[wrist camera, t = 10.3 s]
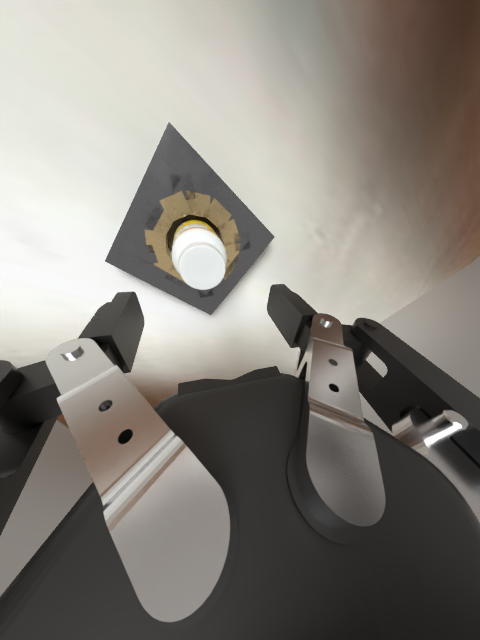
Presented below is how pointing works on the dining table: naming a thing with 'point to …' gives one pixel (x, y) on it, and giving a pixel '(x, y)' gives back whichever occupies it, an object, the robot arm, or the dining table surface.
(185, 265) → the supplement bottle
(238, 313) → the dining table surface
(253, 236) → the mount plate
